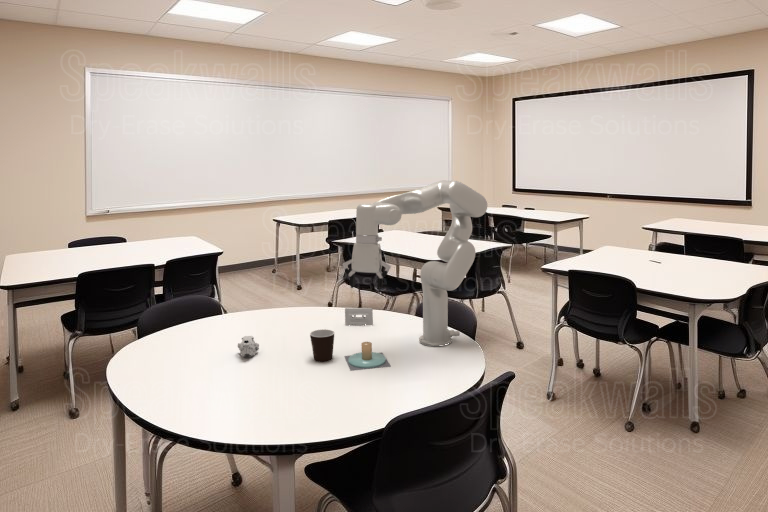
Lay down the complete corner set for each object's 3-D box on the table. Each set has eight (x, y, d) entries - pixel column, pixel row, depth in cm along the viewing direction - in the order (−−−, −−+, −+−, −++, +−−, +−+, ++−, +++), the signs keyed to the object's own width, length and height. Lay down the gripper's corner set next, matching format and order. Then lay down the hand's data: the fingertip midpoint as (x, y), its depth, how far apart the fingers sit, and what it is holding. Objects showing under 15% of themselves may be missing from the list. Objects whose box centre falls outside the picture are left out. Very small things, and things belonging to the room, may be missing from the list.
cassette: (345, 326, 226) (344, 308, 225) (345, 324, 228) (345, 307, 227) (372, 326, 226) (372, 308, 224) (373, 324, 228) (372, 307, 226)
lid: (381, 353, 191) (380, 336, 190) (389, 366, 179) (389, 347, 178) (345, 356, 188) (345, 339, 187) (351, 370, 176) (351, 351, 175)
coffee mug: (331, 365, 182) (330, 337, 180) (307, 363, 184) (306, 336, 182) (340, 353, 193) (339, 327, 191) (318, 352, 195) (317, 326, 193)
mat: (382, 354, 192) (382, 352, 192) (391, 368, 178) (391, 366, 178) (344, 357, 189) (344, 356, 189) (350, 372, 175) (350, 370, 175)
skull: (261, 341, 200) (258, 327, 190) (258, 363, 195) (256, 350, 185) (240, 341, 199) (236, 327, 189) (237, 363, 194) (233, 350, 184)
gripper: (393, 239, 184) (392, 287, 186) (346, 237, 188) (345, 284, 190) (388, 242, 177) (387, 291, 179) (339, 239, 180) (339, 288, 183)
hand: (366, 288), depth 185 cm, fingers open, 9 cm apart
